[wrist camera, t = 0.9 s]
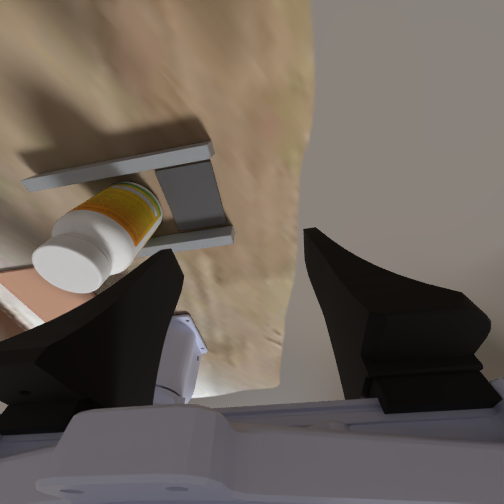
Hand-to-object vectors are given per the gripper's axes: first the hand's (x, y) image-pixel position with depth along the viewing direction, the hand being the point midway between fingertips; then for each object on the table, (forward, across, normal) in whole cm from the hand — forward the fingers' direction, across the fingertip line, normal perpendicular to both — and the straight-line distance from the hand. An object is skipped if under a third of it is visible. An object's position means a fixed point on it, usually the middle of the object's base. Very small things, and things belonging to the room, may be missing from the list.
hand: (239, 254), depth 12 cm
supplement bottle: (+11, +11, 0) cm, 15 cm away
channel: (+10, +10, 0) cm, 14 cm away
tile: (+10, +27, +10) cm, 31 cm away
